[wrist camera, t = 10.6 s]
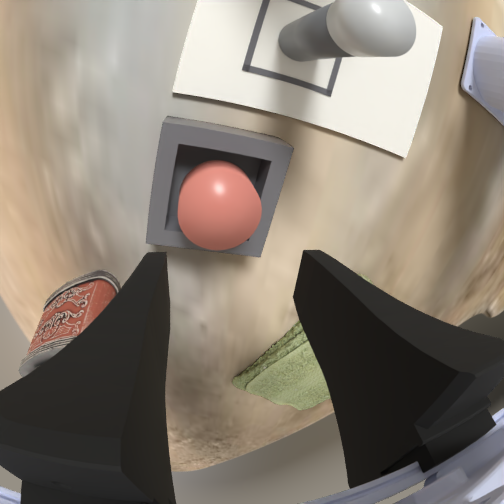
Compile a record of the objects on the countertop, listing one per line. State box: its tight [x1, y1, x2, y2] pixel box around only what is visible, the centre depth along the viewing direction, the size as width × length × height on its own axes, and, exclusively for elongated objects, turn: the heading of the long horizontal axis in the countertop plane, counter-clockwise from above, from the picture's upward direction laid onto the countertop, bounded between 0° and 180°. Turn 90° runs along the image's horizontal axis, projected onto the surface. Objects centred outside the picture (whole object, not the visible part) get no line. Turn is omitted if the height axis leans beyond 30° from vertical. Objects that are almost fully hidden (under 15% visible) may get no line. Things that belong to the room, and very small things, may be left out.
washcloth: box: [232, 274, 372, 410], centre depth 29 cm, size 13×18×3 cm
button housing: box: [146, 116, 294, 257], centre depth 17 cm, size 7×7×3 cm
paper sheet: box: [172, 0, 443, 158], centre depth 15 cm, size 17×12×1 cm
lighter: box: [19, 270, 120, 377], centre depth 17 cm, size 8×3×10 cm, turn 112°
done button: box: [178, 160, 262, 250], centre depth 15 cm, size 4×4×2 cm
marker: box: [278, 0, 416, 62], centre depth 11 cm, size 3×3×9 cm
